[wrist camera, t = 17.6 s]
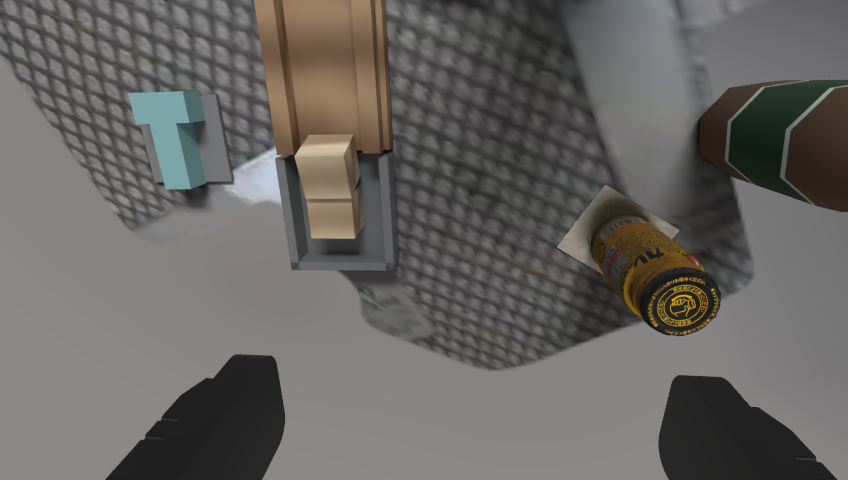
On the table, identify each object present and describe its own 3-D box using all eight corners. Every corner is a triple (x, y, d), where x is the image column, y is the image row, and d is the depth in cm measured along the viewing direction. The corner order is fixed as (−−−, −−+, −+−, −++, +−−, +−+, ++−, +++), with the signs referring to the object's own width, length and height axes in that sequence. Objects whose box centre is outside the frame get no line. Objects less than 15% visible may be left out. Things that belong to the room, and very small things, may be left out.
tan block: (320, 184, 40) (305, 195, 37) (361, 184, 40) (351, 194, 36) (324, 224, 42) (311, 238, 38) (364, 224, 41) (354, 238, 38)
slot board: (258, -65, 34) (235, -83, 31) (381, -74, 33) (371, -92, 30) (288, 148, 40) (271, 154, 36) (393, 146, 39) (386, 152, 35)
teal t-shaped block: (128, 93, 37) (152, 189, 39) (182, 91, 36) (203, 188, 39) (148, 92, 39) (170, 183, 42) (199, 90, 38) (218, 182, 41)
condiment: (627, 288, 42) (686, 363, 31) (556, 246, 41) (590, 307, 30) (678, 229, 39) (764, 287, 28) (604, 183, 39) (661, 224, 27)
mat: (136, 97, 40) (133, 97, 39) (217, 94, 39) (215, 94, 38) (157, 181, 42) (154, 182, 42) (234, 180, 42) (231, 181, 41)
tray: (289, 152, 40) (275, 158, 37) (393, 151, 39) (387, 156, 36) (303, 257, 44) (291, 269, 41) (399, 257, 43) (394, 270, 40)
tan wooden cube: (308, 135, 37) (294, 156, 34) (353, 134, 36) (343, 155, 33) (318, 175, 39) (305, 198, 36) (360, 174, 39) (351, 198, 36)
